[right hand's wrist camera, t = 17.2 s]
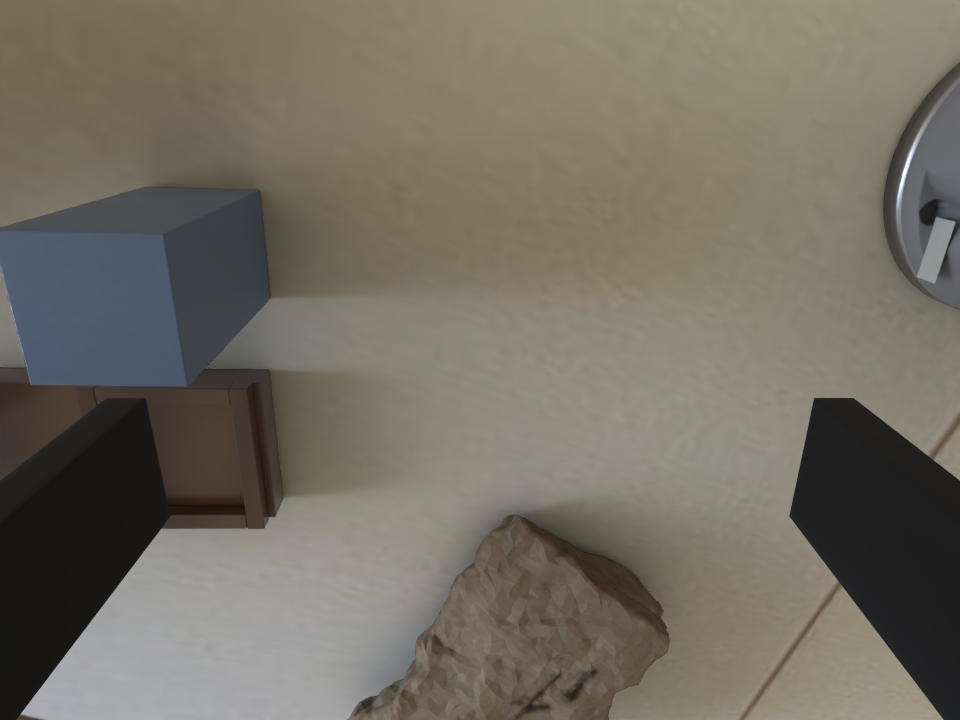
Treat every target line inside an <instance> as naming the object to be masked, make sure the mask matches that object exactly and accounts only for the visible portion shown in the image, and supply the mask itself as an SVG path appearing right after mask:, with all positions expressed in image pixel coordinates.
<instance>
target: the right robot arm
mask: <svg viewBox="0 0 960 720" xmlns="http://www.w3.org/2000/svg"><path fill="white" fill-rule="evenodd" d="M884 225H885V231H886V237H887V240H888V244H889V248H890V250H891V252H892V255H893V257H894V259H895V261H896V263H897V265H898V266H899V268H900V270H901V271H902V272H903V274H904V275H905V276H906V278H907V279H908V280H909V281H910V282H911V283H912V284H913V285H914V286H915V287H917V288H918V289H919V290H920V291H922V292H923V293H924V294H926V295H928V296H929V297H931V298H933V299H935V300H937V301H939V302H941V303H944V304H946V305H948V306H951V307H953V308H956V309H958V310H960V63H959V64H958V65H957V66H955V67H954V68H953V69H952V70H951V71H950V72H949V73H948V74H947V75H946V76H945V77H944V78H943V79H942V80H941V81H940V82H939V83H938V84H937V85H936V86H935V88H934V89H933V90H932V91H931V92H930V93H929V95H928V96H927V97H926V98H925V100H924V101H923V102H922V104H921V105H920V107H919V108H918V109H917V111H916V112H915V114H914V116H913V117H912V119H911V120H910V122H909V124H908V125H907V127H906V129H905V131H904V133H903V135H902V137H901V139H900V141H899V144H898V146H897V148H896V151H895V153H894V156H893V159H892V162H891V165H890V168H889V172H888V177H887V181H886V187H885V194H884ZM169 518H170V511H169V507H168V502H167V497H166V492H165V488H164V483H163V478H162V473H161V469H160V464H159V459H158V454H157V450H156V445H155V440H154V435H153V430H152V426H151V421H150V416H149V411H148V407H147V402H146V398H106V399H105V400H104V401H102V402H101V403H100V404H98V405H97V406H96V407H95V408H93V409H92V410H91V411H89V412H88V413H87V414H86V415H84V416H83V417H82V418H80V419H79V420H78V421H77V422H75V423H74V424H73V425H71V426H70V427H69V428H68V429H66V430H65V431H64V432H62V433H61V434H60V435H59V436H57V437H56V438H55V439H53V440H52V441H51V442H49V443H48V444H47V445H46V446H44V447H43V448H42V449H40V450H39V451H38V452H37V453H35V454H34V455H33V456H31V457H30V458H29V459H28V460H26V461H25V462H24V463H22V464H21V465H20V466H19V467H17V468H16V469H15V470H13V471H12V472H11V473H9V474H8V475H7V476H6V477H4V478H3V479H2V480H0V720H16V719H17V718H18V717H19V715H20V714H21V713H22V711H23V710H24V709H25V707H26V706H27V705H28V703H29V702H30V701H31V699H32V698H33V697H34V696H35V694H36V693H37V692H38V690H39V689H40V688H41V686H42V685H43V684H44V682H45V681H46V680H47V678H48V677H49V676H50V674H51V673H52V672H53V670H54V669H55V668H56V667H57V665H58V664H59V663H60V661H61V660H62V659H63V657H64V656H65V655H66V653H67V652H68V651H69V649H70V648H71V647H72V645H73V644H74V643H75V641H76V640H77V639H78V638H79V636H80V635H81V634H82V632H83V631H84V630H85V628H86V627H87V626H88V624H89V623H90V622H91V620H92V619H93V618H94V616H95V615H96V614H97V613H98V611H99V610H100V609H101V607H102V606H103V605H104V603H105V602H106V601H107V599H108V598H109V597H110V595H111V594H112V593H113V591H114V590H115V589H116V587H117V586H118V585H119V584H120V582H121V581H122V580H123V578H124V577H125V576H126V574H127V573H128V572H129V570H130V569H131V568H132V566H133V565H134V564H135V562H136V561H137V560H138V559H139V557H140V556H141V555H142V553H143V552H144V551H145V549H146V548H147V547H148V545H149V544H150V543H151V541H152V540H153V539H154V537H155V536H156V535H157V533H158V532H159V531H160V530H161V528H162V527H163V526H164V524H165V523H166V522H167V520H168V519H169ZM790 518H791V519H792V520H793V522H794V523H795V524H796V526H797V527H798V528H799V530H800V531H801V532H802V533H803V535H804V536H805V537H806V539H807V540H808V541H809V543H810V544H811V545H812V547H813V548H814V549H815V551H816V552H817V553H818V555H819V556H820V557H821V559H822V560H823V561H824V562H825V564H826V565H827V566H828V568H829V569H830V570H831V572H832V573H833V574H834V576H835V577H836V578H837V580H838V581H839V582H840V584H841V585H842V586H843V587H844V589H845V590H846V591H847V593H848V594H849V595H850V597H851V598H852V599H853V601H854V602H855V603H856V605H857V606H858V607H859V609H860V610H861V611H862V613H863V614H864V615H865V616H866V618H867V619H868V620H869V622H870V623H871V624H872V626H873V627H874V628H875V630H876V631H877V632H878V634H879V635H880V636H881V638H882V639H883V640H884V641H885V643H886V644H887V645H888V647H889V648H890V649H891V651H892V652H893V653H894V655H895V656H896V657H897V659H898V660H899V661H900V663H901V664H902V665H903V667H904V668H905V669H906V670H907V672H908V673H909V674H910V676H911V677H912V678H913V680H914V681H915V682H916V684H917V685H918V686H919V688H920V689H921V690H922V692H923V693H924V694H925V696H926V697H927V698H928V699H929V701H930V702H931V703H932V705H933V706H934V707H935V709H936V710H937V711H938V713H939V714H940V715H941V717H942V718H943V719H944V720H960V480H958V479H957V478H956V477H954V476H953V475H952V474H951V473H949V472H948V471H947V470H945V469H944V468H943V467H941V466H940V465H939V464H938V463H936V462H935V461H934V460H932V459H931V458H930V457H929V456H927V455H926V454H925V453H923V452H922V451H921V450H920V449H918V448H917V447H916V446H914V445H913V444H912V443H911V442H909V441H908V440H907V439H905V438H904V437H903V436H902V435H900V434H899V433H898V432H896V431H895V430H894V429H892V428H891V427H890V426H889V425H887V424H886V423H885V422H883V421H882V420H881V419H880V418H878V417H877V416H876V415H874V414H873V413H872V412H871V411H869V410H868V409H867V408H865V407H864V406H863V405H862V404H860V403H859V402H858V401H856V400H855V399H854V398H814V402H813V407H812V411H811V416H810V421H809V426H808V430H807V435H806V440H805V445H804V450H803V454H802V459H801V464H800V469H799V473H798V478H797V483H796V488H795V492H794V497H793V502H792V507H791V511H790Z"/></svg>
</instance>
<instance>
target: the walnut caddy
mask: <svg viewBox="0 0 960 720" xmlns="http://www.w3.org/2000/svg"><path fill="white" fill-rule="evenodd" d="M106 398H146V402H147V407H148V411H149V416H150V421H151V426H152V430H153V435H154V440H155V445H156V450H157V454H158V459H159V464H160V469H161V473H162V478H163V483H164V488H165V492H166V497H167V502H168V507H169V511H170V518H169V519H168V520H167V522H166V523H165V524H164V526H163V527H162V528H161V529H193V528H248V529H264V528H265V526H266V524H267V522H268V519H269V517H275V516H276V514H277V512H278V509H279V507H280V505H281V503H282V500H283V491H282V482H281V473H280V464H279V455H278V446H277V437H276V428H275V419H274V410H273V401H272V392H271V383H270V374H269V370H203V371H202V372H201V373H200V374H199V375H198V376H197V377H196V378H195V379H194V381H193V382H192V383H191V384H190V385H189V386H187V387H167V386H80V385H31V383H30V379H29V375H28V372H27V368H0V480H2V479H3V478H4V477H6V476H7V475H8V474H9V473H11V472H12V471H13V470H15V469H16V468H17V467H19V466H20V465H21V464H22V463H24V462H25V461H26V460H28V459H29V458H30V457H31V456H33V455H34V454H35V453H37V452H38V451H39V450H40V449H42V448H43V447H44V446H46V445H47V444H48V443H49V442H51V441H52V440H53V439H55V438H56V437H57V436H59V435H60V434H61V433H62V432H64V431H65V430H66V429H68V428H69V427H70V426H71V425H73V424H74V423H75V422H77V421H78V420H79V419H80V418H82V417H83V416H84V415H86V414H87V413H88V412H89V411H91V410H92V409H93V408H95V407H96V406H97V405H98V404H100V403H101V402H102V401H104V400H105V399H106Z"/></svg>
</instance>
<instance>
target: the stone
mask: <svg viewBox="0 0 960 720" xmlns="http://www.w3.org/2000/svg"><path fill="white" fill-rule="evenodd" d="M662 613H663V609H662V607H661V605H660V604H659V602H658V601H656V600H655V599H654V598H653V596H652V595H651V594H650V593H649V592H648V591H647V589H646V588H645V587H644V586H643V584H642V583H641V582H640V581H639V579H638V578H637V576H636V575H635V574H633V573H632V572H630V571H629V570H627V569H626V568H624V567H623V566H621V565H618V564H617V563H615V562H613V561H612V560H607V559H605V558H604V557H601V556H598V555H592V554H588V553H584V552H581V551H579V550H578V549H577V548H575V547H574V546H573V545H571V544H570V543H568V542H566V541H563V540H562V539H560V538H558V537H557V536H555V535H553V534H552V533H550V532H548V531H546V530H543V529H540V528H538V527H537V526H536V524H535V523H533V522H531V521H529V520H528V519H526V518H522V517H520V516H518V515H510V516H507V517H506V518H505V519H504V520H503V521H502V523H501V526H500V527H498V528H496V529H494V530H493V531H492V532H491V533H490V534H489V535H488V536H487V537H486V538H485V539H484V540H483V542H482V543H481V545H480V547H479V549H478V551H477V552H476V558H475V562H474V563H473V564H472V565H470V566H469V567H468V568H466V569H465V570H464V572H463V573H461V574H459V575H457V577H456V579H455V581H454V583H453V585H452V588H451V592H450V596H449V598H448V599H447V601H446V603H445V604H444V606H443V608H442V610H441V611H440V613H439V615H438V618H437V619H436V621H435V622H434V623H433V625H432V626H430V627H429V628H428V629H427V630H426V631H424V632H423V633H422V634H421V635H420V636H419V638H418V639H417V641H416V650H415V657H416V660H414V661H413V662H412V664H411V666H410V668H409V669H408V670H407V672H406V676H405V677H404V678H403V679H402V680H399V681H396V682H394V683H393V684H392V685H390V686H389V687H387V688H385V689H384V690H382V691H381V693H380V694H379V696H373V697H369V698H366V699H365V700H363V701H361V702H359V703H358V705H357V706H356V707H355V709H354V711H353V712H352V714H351V716H350V717H349V719H348V720H609V718H608V714H609V709H610V707H611V704H612V699H613V697H614V695H615V693H616V692H618V691H621V690H623V689H625V688H627V687H630V686H635V685H638V684H639V682H640V680H641V679H642V677H643V675H644V673H645V671H646V670H647V668H648V667H649V666H650V665H651V664H652V663H653V662H654V661H655V660H656V659H658V658H660V657H662V656H663V655H664V654H665V653H667V652H668V647H669V634H668V632H667V631H666V628H667V627H666V625H665V624H664V622H663V621H662V619H661V616H662Z"/></svg>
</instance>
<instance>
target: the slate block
mask: <svg viewBox="0 0 960 720" xmlns="http://www.w3.org/2000/svg"><path fill="white" fill-rule="evenodd" d="M0 268H1V271H2V275H3V279H4V283H5V287H6V291H7V295H8V298H9V302H10V306H11V310H12V314H13V318H14V322H15V325H16V329H17V333H18V337H19V341H20V345H21V348H22V352H23V356H24V360H25V364H26V368H27V372H28V375H29V379H30V383H31V385H80V386H167V387H187V386H189V385H190V384H191V383H192V382H193V381H194V379H195V378H196V377H197V376H198V375H199V374H200V373H201V372H202V371H203V370H204V369H205V368H206V367H207V366H208V365H209V364H210V362H211V361H212V360H213V359H214V358H215V357H216V356H217V355H218V354H219V353H220V352H221V351H222V350H223V349H224V348H225V346H226V345H227V344H228V343H229V342H230V341H231V340H232V339H233V338H234V337H235V336H236V335H237V334H238V333H239V332H240V330H241V329H242V328H243V327H244V326H245V325H246V324H247V323H248V322H249V321H250V320H251V319H252V318H253V317H254V316H255V315H256V313H257V312H258V311H259V310H260V309H261V308H262V307H263V306H264V305H265V304H266V303H267V302H268V301H269V300H270V298H271V297H270V287H269V277H268V267H267V257H266V247H265V236H264V226H263V216H262V206H261V196H260V190H251V189H209V188H166V187H143V188H140V189H136V190H133V191H129V192H126V193H122V194H119V195H115V196H111V197H108V198H104V199H101V200H97V201H94V202H90V203H87V204H83V205H79V206H76V207H72V208H69V209H65V210H62V211H58V212H54V213H51V214H47V215H44V216H40V217H37V218H33V219H30V220H26V221H22V222H19V223H15V224H12V225H8V226H5V227H1V228H0Z"/></svg>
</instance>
